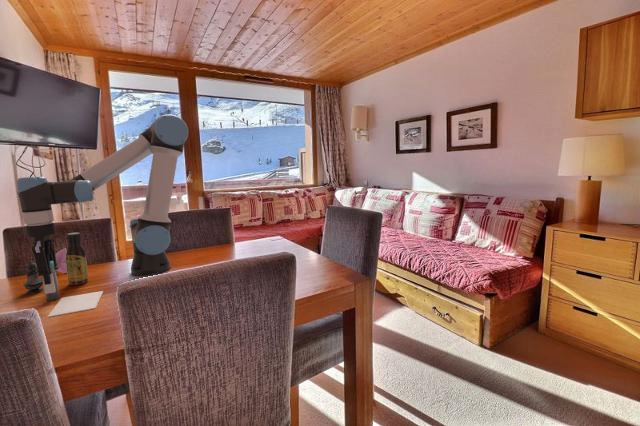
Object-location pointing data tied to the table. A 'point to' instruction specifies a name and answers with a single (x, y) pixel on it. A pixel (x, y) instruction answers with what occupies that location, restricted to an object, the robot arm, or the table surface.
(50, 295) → the marker
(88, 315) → the table surface
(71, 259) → the sauce bottle
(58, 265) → the lily
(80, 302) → the paper
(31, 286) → the dark grey chess piece
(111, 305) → the table surface
